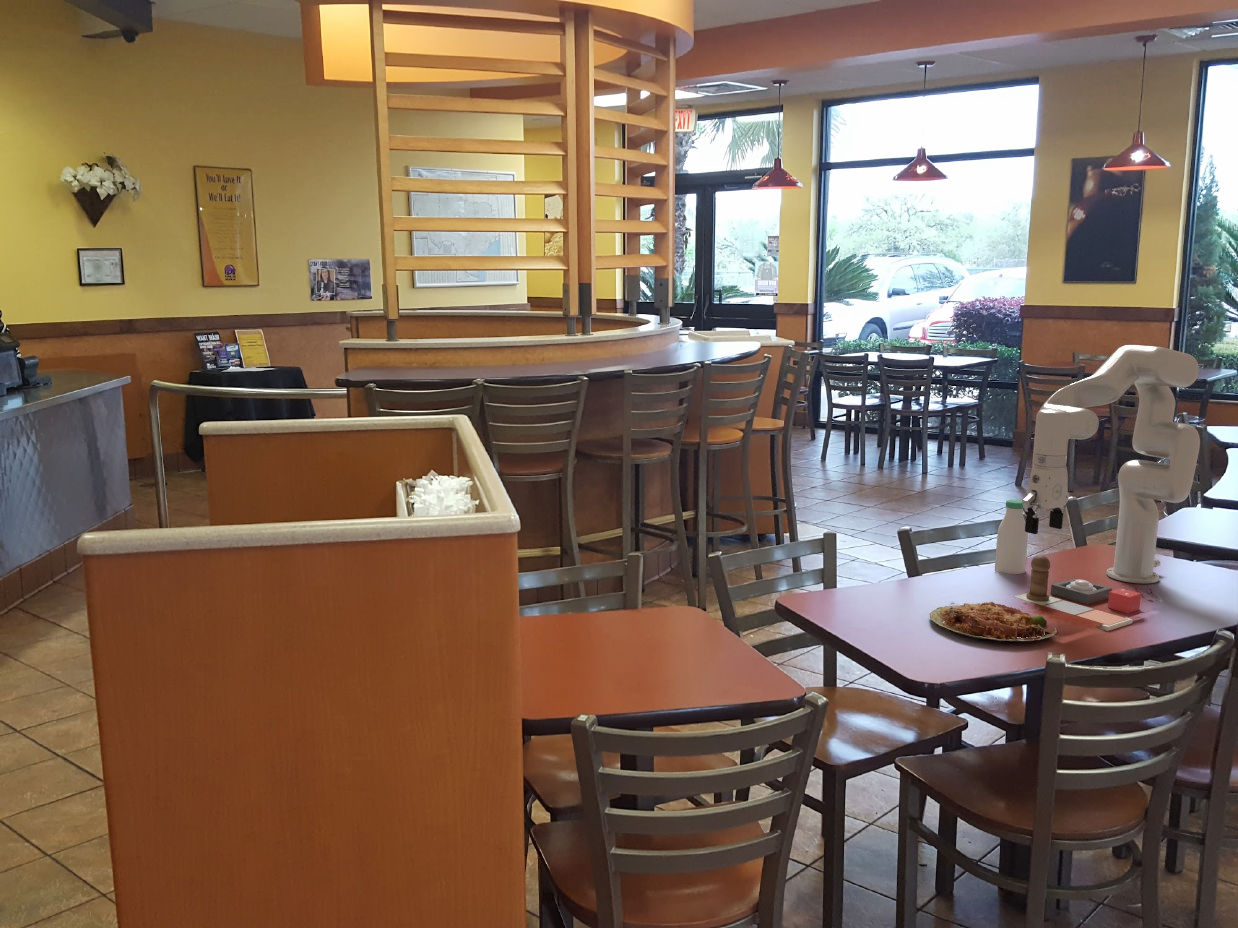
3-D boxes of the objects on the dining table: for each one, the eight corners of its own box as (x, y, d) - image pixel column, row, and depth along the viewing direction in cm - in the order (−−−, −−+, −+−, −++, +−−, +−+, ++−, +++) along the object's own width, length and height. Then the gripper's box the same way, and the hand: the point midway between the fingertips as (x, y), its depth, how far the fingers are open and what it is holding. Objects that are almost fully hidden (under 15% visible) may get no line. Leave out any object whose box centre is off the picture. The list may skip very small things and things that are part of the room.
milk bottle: (1029, 577, 282) (1035, 504, 278) (999, 577, 282) (1005, 504, 278) (1018, 569, 289) (1024, 498, 285) (990, 569, 289) (995, 497, 286)
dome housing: (1073, 591, 270) (1075, 578, 269) (1110, 601, 262) (1111, 588, 261) (1050, 597, 264) (1051, 584, 264) (1087, 608, 256) (1088, 594, 256)
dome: (1076, 586, 268) (1077, 575, 267) (1102, 594, 262) (1103, 582, 261) (1059, 591, 264) (1060, 580, 263) (1085, 598, 258) (1086, 587, 257)
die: (1119, 608, 257) (1121, 587, 256) (1138, 613, 253) (1141, 592, 252) (1107, 611, 254) (1109, 590, 253) (1127, 617, 250) (1129, 595, 249)
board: (1033, 594, 267) (1033, 590, 267) (1132, 623, 246) (1132, 618, 246) (1008, 600, 262) (1009, 596, 261) (1107, 630, 240) (1107, 626, 240)
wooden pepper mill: (1034, 593, 264) (1038, 551, 262) (1053, 599, 260) (1057, 556, 258) (1021, 597, 261) (1025, 554, 259) (1040, 602, 257) (1044, 559, 255)
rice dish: (952, 605, 262) (953, 584, 261) (1070, 624, 246) (1071, 601, 245) (911, 636, 239) (911, 613, 238) (1038, 658, 223) (1039, 634, 222)
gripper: (1041, 466, 246) (1035, 538, 250) (1084, 460, 256) (1078, 529, 259) (1013, 461, 252) (1007, 531, 256) (1056, 455, 262) (1051, 522, 265)
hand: (1043, 530), depth 257 cm, fingers open, 9 cm apart
